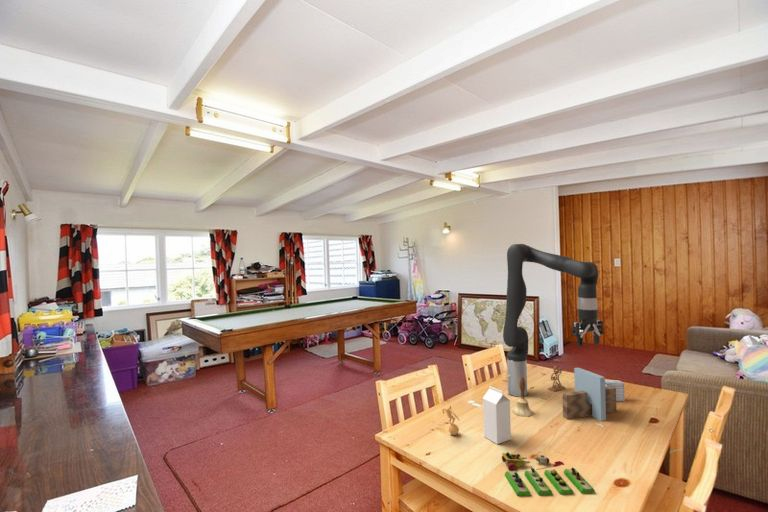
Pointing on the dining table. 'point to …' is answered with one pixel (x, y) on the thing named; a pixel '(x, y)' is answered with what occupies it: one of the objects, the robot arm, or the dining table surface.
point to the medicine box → (618, 386)
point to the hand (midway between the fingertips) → (588, 345)
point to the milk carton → (496, 416)
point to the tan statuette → (558, 386)
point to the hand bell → (522, 402)
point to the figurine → (453, 427)
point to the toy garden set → (537, 482)
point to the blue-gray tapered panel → (592, 391)
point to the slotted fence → (585, 403)
